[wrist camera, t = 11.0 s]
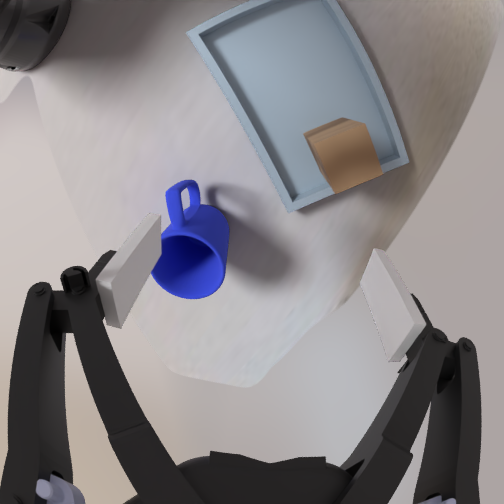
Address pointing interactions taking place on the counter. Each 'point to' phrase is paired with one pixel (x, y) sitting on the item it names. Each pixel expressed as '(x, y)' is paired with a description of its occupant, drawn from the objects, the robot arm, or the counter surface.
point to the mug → (192, 246)
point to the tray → (296, 86)
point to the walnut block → (344, 153)
